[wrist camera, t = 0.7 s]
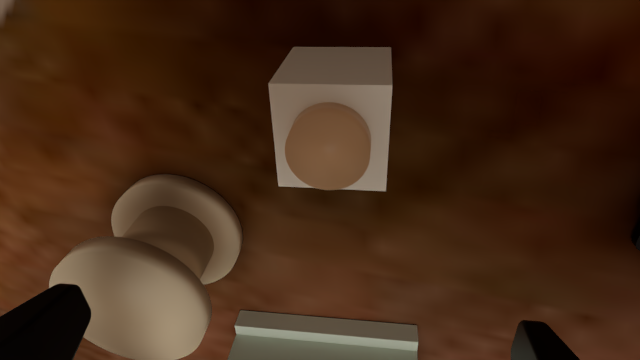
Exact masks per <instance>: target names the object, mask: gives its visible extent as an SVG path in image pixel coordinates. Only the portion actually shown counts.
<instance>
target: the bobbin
mask: <svg viewBox="0 0 640 360" xmlns="http://www.w3.org/2000/svg"><path fill="white" fill-rule="evenodd" d="M111 223H112V229H113V233H114V236H115V237H109V236H106V237H97V238H93V239H89V240H86V241H84V242H82V243H80V244H79V245H77V246H75V247H74V248H73V249H72V250H71V251H70V252H69V253H68V255H67V256H66V257H65V258H64V259H63V260H62V261H61V262H60V263H59V264H58V265H57V266H56V267H55V269H54V271H53V272H52V274H51V277H50V282H49V288H51V287H52V286H54V285H56V284H60V283H64V284H75V285H78V286H79V287H80V288H81V290H82V292H83V294H84V296H85V298H86V300H87V302H88V304H89V306H90V309H91V320H90V323H89V325H88V327H87V329H86V331H85V334H84V336H83V337H84V338H86V339H87V340H89V341H90V342H92V343H94V344H96V345H97V346H99V347H101V348H103V349H105V350H107V351H110V352H112V353H115V354H117V355H120V356H124V357H127V358H131V359H135V360H177V359H180V358H183V357H185V356H187V355H189V354H190V353H192V352H193V351H194V350H195V349H196V348H197V347H198V346H199V345H200V343H201V341H202V339H203V336H204V334H205V332H206V329H207V327H208V325H209V322H210V320H211V315H212V306H211V300H210V297H209V294H208V292H207V290H206V288H205V286H204V284H209V283H212V282H215V281H217V280H219V279H221V278H223V277H224V276H225V275H226V274H228V273H229V272H230V270H231V269H232V268H233V266H234V264H235V262H236V259H237V257H238V255H239V252H240V250H241V247H242V242H243V233H242V228H241V224H240V222H239V219H238V217H237V215H236V213H235V212H234V210H233V209H232V207H231V206H230V205H229V204H228V203H227V202H226V200H225V199H224V198H222V197H221V196H220V195H219V194H218V193H217V192H215V191H214V190H212V189H211V188H209V187H208V186H206V185H204V184H202V183H200V182H198V181H196V180H193V179H190V178H187V177H183V176H179V175H171V174H158V175H152V176H148V177H145V178H143V179H141V180H138V181H137V182H136V183H134V184H133V185H132V186H131V187H130V188H129V189H128V190H127V191H126V192H125V193H124V194H123V195H122V196H121V197H120V198H119V200H118V201H117V203H116V204H115V206H114V209H113V212H112V220H111Z"/></svg>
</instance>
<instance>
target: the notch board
mask: <svg viewBox="0 0 640 360" xmlns="http://www.w3.org/2000/svg"><path fill="white" fill-rule="evenodd" d="M235 330H236V337H235V340H234V342H233V345H232V348H231V351H230V354H229V357H228V359H227V360H418V357H417V348H418V331H417V325H407V324H396V323H384V322H372V321H361V320H349V319H337V318H326V317H314V316H302V315H291V314H279V313H267V312H256V311H244V310H240V312H239V315H238V318H237V321H236V323H235Z"/></svg>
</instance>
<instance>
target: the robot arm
mask: <svg viewBox="0 0 640 360" xmlns="http://www.w3.org/2000/svg"><path fill="white" fill-rule="evenodd" d="M632 243H633V244H634V246H635V247H636V248H637V249H638V250H639V251H640V221H639V223H638V226H637V228H636V230H635V232H634V234H633V236H632ZM90 320H91V309H90V306H89V304H88V302H87V300H86V298H85V296H84V294H83V292H82V290H81V288H80V287H79V286H78V285H75V284H64V283H60V284H56V285H54V286H52V287H51V288H49V289H47V290H45V291H44V292H42V293H40V294H38V295H37V296H35V297H33V298H32V299H30V300H28V301H26V302H25V303H23V304H21V305H19V306H18V307H16V308H14V309H13V310H11V311H9V312H7V313H6V314H4V315H2V316H0V360H73V358H74V356H75V354H76V351H77V349H78V347H79V345H80V342H81V340H82V338H83V336H84V334H85V331H86V329H87V327H88V325H89V323H90ZM511 360H580V359H579V358H578V357H577V356H576V355H575V354H574V353H573V352H572V351H571V350H570V349H569V347H568V346H567V345H566V344H565V343H564V342H563V341H562V340H561V339H560V338H559V337H558V336H557V335H556V333H555V332H554V331H553V330H552V329H551V328H550V327H549V326H548V325H547V324H545V323H544V322H540V321H528V320H523V321H521V322H520V323H519V324H518V327H517V331H516V334H515V337H514V341H513V344H512V348H511Z"/></svg>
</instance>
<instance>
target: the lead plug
mask: <svg viewBox="0 0 640 360" xmlns="http://www.w3.org/2000/svg"><path fill="white" fill-rule="evenodd" d="M268 86H269V96H270V106H271V116H272V126H273V136H274V146H275V156H276V166H277V177H278V186H284V187H305V188H317V189H322V190H338V189H348V190H369V191H386V181H387V165H388V149H389V133H390V117H391V101H392V59H391V47H293V48H292V50H291V51H290V52H289V54H288V55H287V57H286V58H285V60H284V61H283V63H282V64H281V66H280V67H279V69H278V70H277V71H276V73H275V74H274V76H273V77H272V79H271V80H270V82H269V83H268Z"/></svg>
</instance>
